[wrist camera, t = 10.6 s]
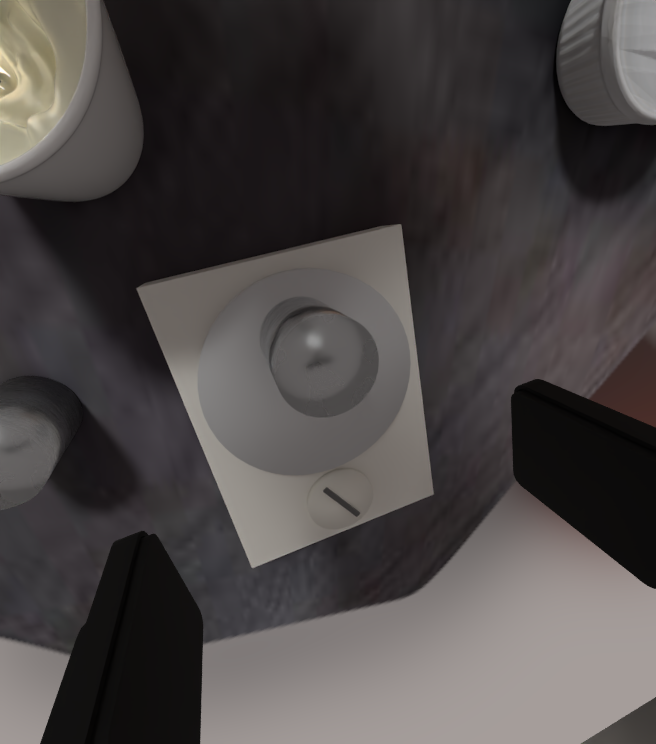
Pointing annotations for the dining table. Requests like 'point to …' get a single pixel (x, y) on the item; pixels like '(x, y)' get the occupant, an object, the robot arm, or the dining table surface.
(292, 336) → the disc
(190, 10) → the dining table surface
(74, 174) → the candle holder
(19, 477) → the cylinder
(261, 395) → the scale
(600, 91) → the ramekin
